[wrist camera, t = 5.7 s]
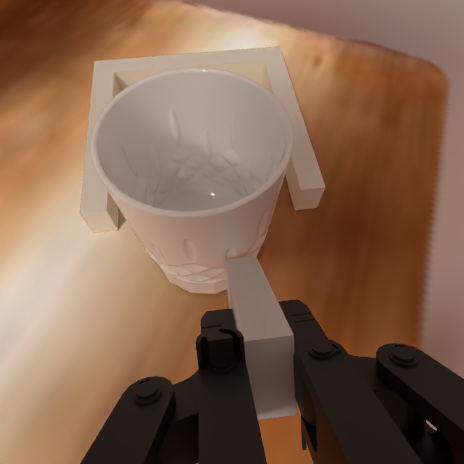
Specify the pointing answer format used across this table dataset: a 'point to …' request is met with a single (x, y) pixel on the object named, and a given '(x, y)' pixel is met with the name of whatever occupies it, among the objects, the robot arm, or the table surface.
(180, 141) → the white cup
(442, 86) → the table surface
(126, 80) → the bay
